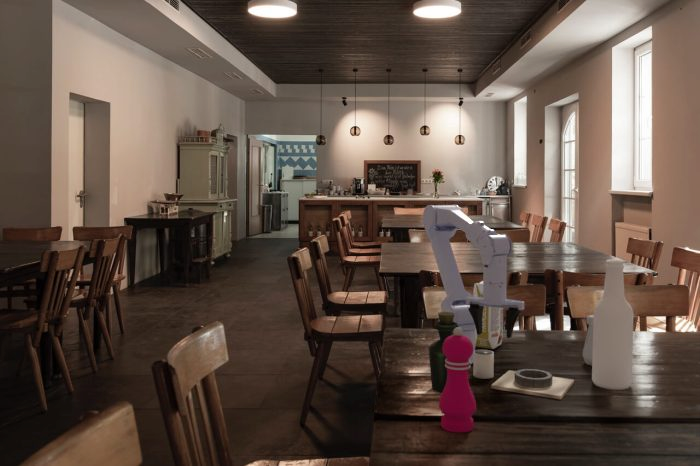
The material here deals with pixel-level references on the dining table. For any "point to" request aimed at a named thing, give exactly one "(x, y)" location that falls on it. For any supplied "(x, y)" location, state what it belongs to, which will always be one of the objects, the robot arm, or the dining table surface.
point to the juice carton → (489, 323)
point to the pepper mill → (457, 385)
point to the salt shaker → (589, 342)
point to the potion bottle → (440, 351)
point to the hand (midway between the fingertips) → (494, 335)
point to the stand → (533, 383)
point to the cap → (483, 364)
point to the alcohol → (613, 333)
